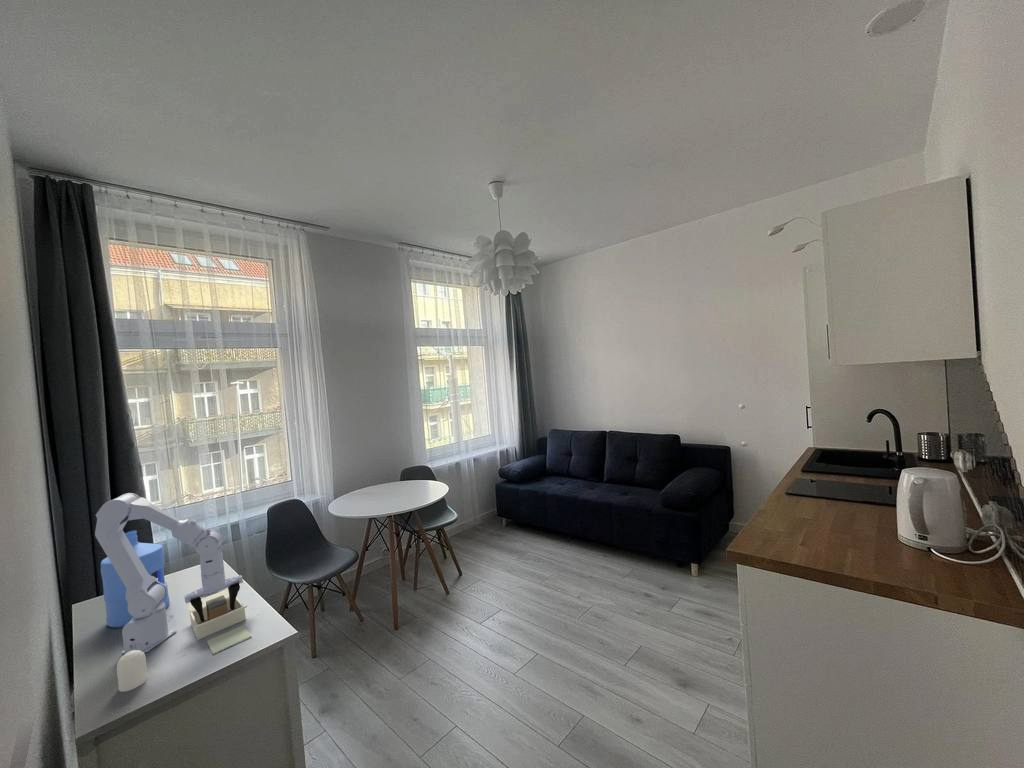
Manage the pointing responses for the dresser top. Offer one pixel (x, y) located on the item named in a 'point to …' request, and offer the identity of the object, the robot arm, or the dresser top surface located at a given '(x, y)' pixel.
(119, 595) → the water jug
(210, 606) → the walnut block
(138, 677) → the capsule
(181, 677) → the dresser top surface
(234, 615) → the carton
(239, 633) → the mat
